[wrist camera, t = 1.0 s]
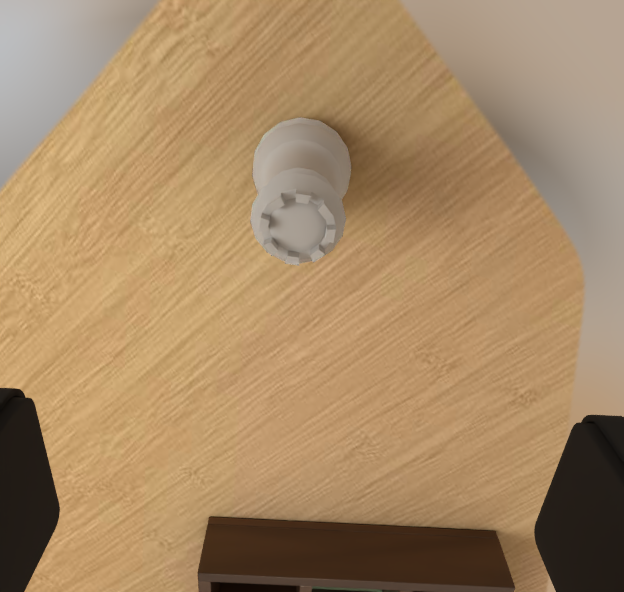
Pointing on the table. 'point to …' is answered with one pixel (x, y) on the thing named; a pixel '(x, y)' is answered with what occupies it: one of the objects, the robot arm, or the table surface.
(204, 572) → the rack
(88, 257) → the table surface
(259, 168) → the rook chess piece
